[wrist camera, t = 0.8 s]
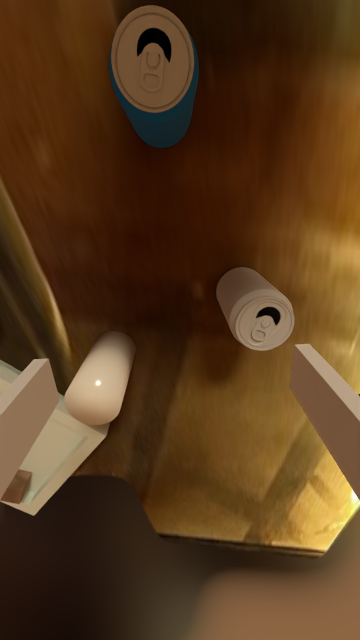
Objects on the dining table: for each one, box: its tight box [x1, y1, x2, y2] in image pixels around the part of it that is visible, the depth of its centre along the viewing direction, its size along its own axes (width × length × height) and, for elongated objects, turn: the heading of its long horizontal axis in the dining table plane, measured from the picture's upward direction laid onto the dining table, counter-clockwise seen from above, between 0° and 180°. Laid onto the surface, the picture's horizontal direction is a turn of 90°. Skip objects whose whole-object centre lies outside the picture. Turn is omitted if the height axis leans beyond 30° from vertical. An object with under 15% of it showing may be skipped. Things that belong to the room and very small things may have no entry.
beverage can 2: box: [216, 267, 294, 351], centre depth 32 cm, size 6×6×12 cm
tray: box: [0, 360, 110, 515], centre depth 45 cm, size 24×24×3 cm
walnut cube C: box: [0, 469, 32, 504], centre depth 48 cm, size 4×4×4 cm
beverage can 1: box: [109, 5, 199, 148], centre depth 24 cm, size 6×6×12 cm
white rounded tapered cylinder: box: [64, 331, 136, 425], centre depth 35 cm, size 6×6×12 cm
